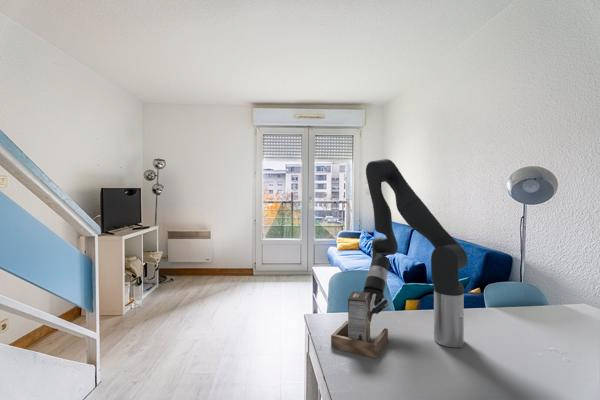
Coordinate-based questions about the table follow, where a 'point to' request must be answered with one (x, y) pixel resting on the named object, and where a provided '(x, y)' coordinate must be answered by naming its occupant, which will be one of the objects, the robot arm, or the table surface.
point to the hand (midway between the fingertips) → (366, 322)
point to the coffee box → (359, 316)
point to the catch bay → (358, 342)
